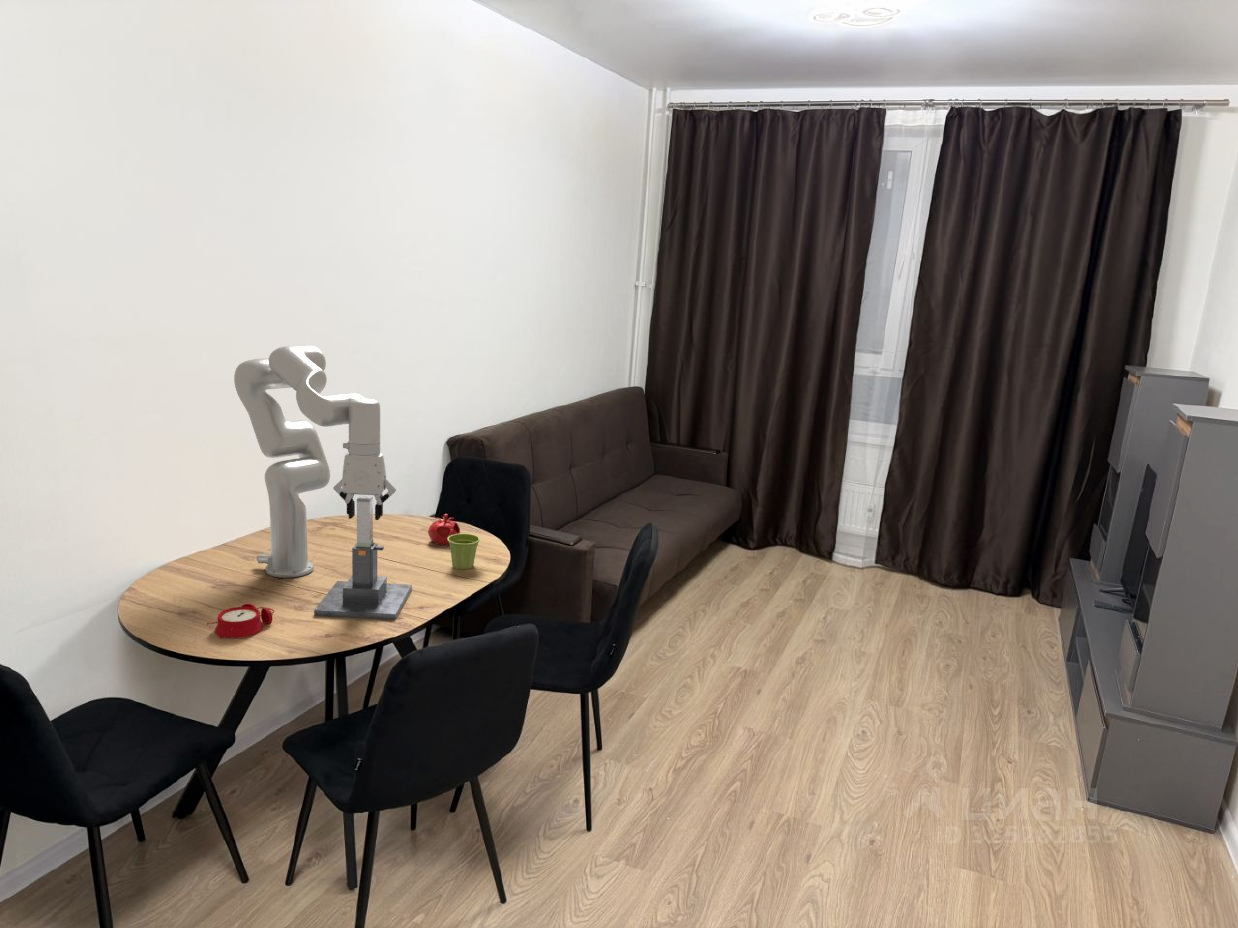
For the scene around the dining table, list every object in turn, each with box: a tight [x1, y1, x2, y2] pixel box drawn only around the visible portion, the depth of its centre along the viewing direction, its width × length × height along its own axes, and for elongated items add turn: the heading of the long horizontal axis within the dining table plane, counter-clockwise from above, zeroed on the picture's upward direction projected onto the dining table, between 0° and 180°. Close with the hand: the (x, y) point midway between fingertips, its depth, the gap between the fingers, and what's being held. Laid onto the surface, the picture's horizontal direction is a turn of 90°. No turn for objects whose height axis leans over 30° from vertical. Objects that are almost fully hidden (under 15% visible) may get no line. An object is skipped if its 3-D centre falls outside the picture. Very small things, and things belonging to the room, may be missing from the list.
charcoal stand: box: [313, 542, 413, 620], centre depth 221 cm, size 20×20×16 cm
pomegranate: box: [427, 513, 461, 546], centre depth 272 cm, size 10×10×9 cm
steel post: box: [355, 495, 374, 548], centre depth 219 cm, size 3×3×17 cm
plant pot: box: [448, 533, 481, 570], centre depth 252 cm, size 9×9×9 cm
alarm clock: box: [206, 603, 275, 639], centre depth 204 cm, size 10×6×15 cm
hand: (364, 517), depth 218 cm, fingers open, 6 cm apart
